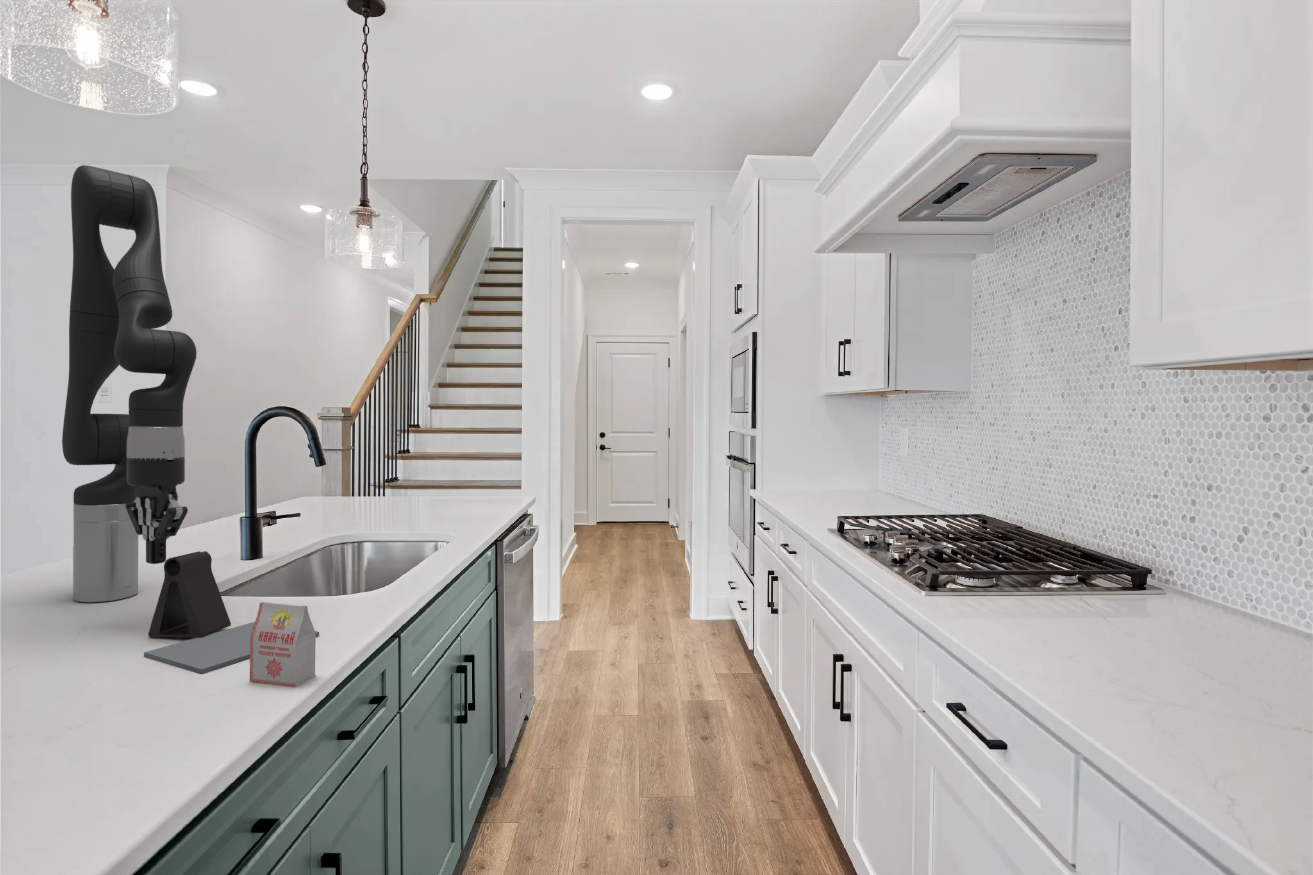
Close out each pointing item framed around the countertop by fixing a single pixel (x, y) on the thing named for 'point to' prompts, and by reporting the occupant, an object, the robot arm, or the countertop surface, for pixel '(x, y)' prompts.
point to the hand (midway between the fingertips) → (156, 562)
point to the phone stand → (189, 599)
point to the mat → (208, 650)
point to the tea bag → (282, 645)
